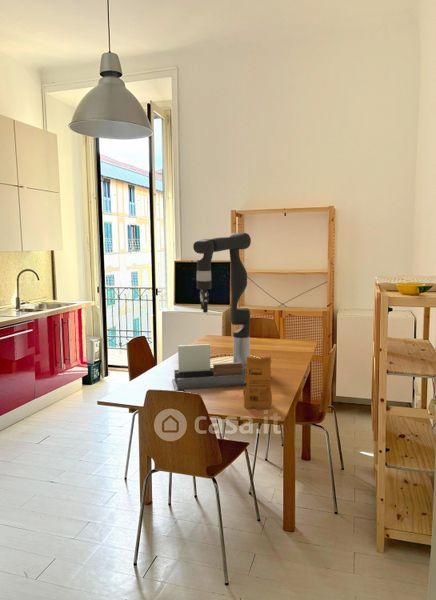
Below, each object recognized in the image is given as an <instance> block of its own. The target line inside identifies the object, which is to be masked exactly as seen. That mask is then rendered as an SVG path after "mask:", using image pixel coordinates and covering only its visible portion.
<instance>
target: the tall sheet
mask: <svg viewBox="0 0 436 600" xmlns="http://www.w3.org/2000/svg"><path fill="white" fill-rule="evenodd" d="M177 355H178V357H177V358H178V360H177V361H178V363H177V364H178V370H179V372H187V371H204V370H210V368H211V343H202V344H199V343H198V344H182V345H181V344H180V345H177Z"/></svg>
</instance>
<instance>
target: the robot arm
mask: <svg viewBox="0 0 436 600" xmlns="http://www.w3.org/2000/svg"><path fill="white" fill-rule="evenodd" d="M251 243H252V239H251V236H250V234H248V233H247V232H232V233H230V235H229V236H228V237H227V236H225V237H214V238H204V239H203V238H202V239H201V238H200V239H196V240H195V241H194V242H193V246H192V247H193V250H194V252H195V253H196V254H200V255H201V254H202V258H198V259H196V260H197V261H196V289H197V290H200V291H199V299H200V300H199V301H200V306H201V307H200V309H201V310H202V313H204V314H205V313H208V312H209V311H208V309H209V308H208V307H209V292H208V290H211V289H212V259H213V255H214V253H215V252H216V253H217V252H222V251H227V250H229V259H230V260H229V262H230V323H231V324H232V325H234V326H240V325H241V327H240V328H239V329H236V330H234V331H232V336H233V337H232V339H233V343H232V344H233V345H232V347H233V351H232V352H233V353H232V355H233V361H232V363H237V362H241V363H242V366H244V367H246V363H247V357H251V356H250V353H251V351H250V348H251V347H250V346H251V345H250V342H251V341H250V332H251V331H250V330H251V329H250V327H251V311H250V309H249V308H246V307H243V308H238V304H239V300H240V299H241V296H242V295H243V294H244V292H245V290H246V289H247V286H248V272H247V270H246V268H245V266H244V264H243V262H242V260H241V258H240V250H246V249H248V248H249V247H250V246H251Z"/></svg>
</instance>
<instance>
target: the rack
mask: <svg viewBox="0 0 436 600" xmlns="http://www.w3.org/2000/svg"><path fill="white" fill-rule="evenodd" d="M242 368H243V375H228V376H214V373H213V367H210V370H204V371H187V372H179V369H174V370H173V371H174V372H173V374H174V378H172V380H171V381H172V385H173V388H174V391H175V390H176V391H184V392H185V391H189V390H192V391H193V390H204V389H205V390H206V389H220V388H222V389H223V388H235V387H244V382H245V374H246V367H245V366H242Z"/></svg>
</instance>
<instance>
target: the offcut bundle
mask: <svg viewBox="0 0 436 600" xmlns="http://www.w3.org/2000/svg"><path fill="white" fill-rule="evenodd" d="M212 366H213V367H212V368H213V373H214V376H228V375H243V368H242V363H241V362H237V363H233V362H224V363H221V362H220V363H213V365H212Z"/></svg>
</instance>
